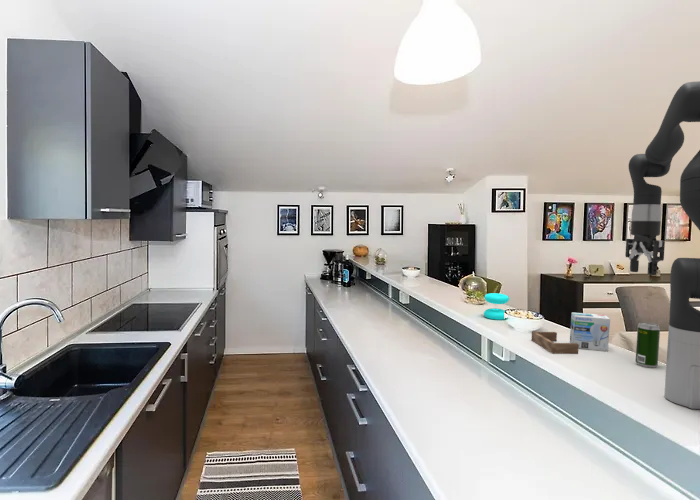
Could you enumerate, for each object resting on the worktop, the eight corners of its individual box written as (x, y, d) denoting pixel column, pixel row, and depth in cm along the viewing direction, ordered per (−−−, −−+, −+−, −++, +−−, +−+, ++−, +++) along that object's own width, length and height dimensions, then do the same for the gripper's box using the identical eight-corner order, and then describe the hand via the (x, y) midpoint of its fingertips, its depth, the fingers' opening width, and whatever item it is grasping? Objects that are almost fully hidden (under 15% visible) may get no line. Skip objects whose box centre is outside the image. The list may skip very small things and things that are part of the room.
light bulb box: (572, 348, 145) (574, 315, 144) (568, 343, 151) (570, 311, 151) (609, 351, 142) (611, 318, 141) (603, 346, 148) (605, 314, 148)
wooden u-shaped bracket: (578, 353, 139) (578, 344, 139) (552, 353, 139) (552, 343, 139) (554, 340, 154) (555, 331, 154) (531, 340, 154) (531, 331, 154)
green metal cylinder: (652, 369, 125) (655, 327, 124) (631, 364, 130) (634, 323, 129) (660, 366, 128) (663, 325, 127) (640, 361, 133) (643, 321, 132)
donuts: (486, 296, 184) (482, 292, 194) (485, 319, 185) (482, 314, 195) (511, 297, 183) (506, 293, 193) (510, 321, 184) (505, 315, 194)
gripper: (675, 220, 128) (672, 276, 129) (641, 220, 142) (638, 271, 143) (650, 219, 128) (646, 276, 129) (618, 219, 142) (616, 270, 143)
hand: (642, 273), depth 136 cm, fingers open, 7 cm apart
